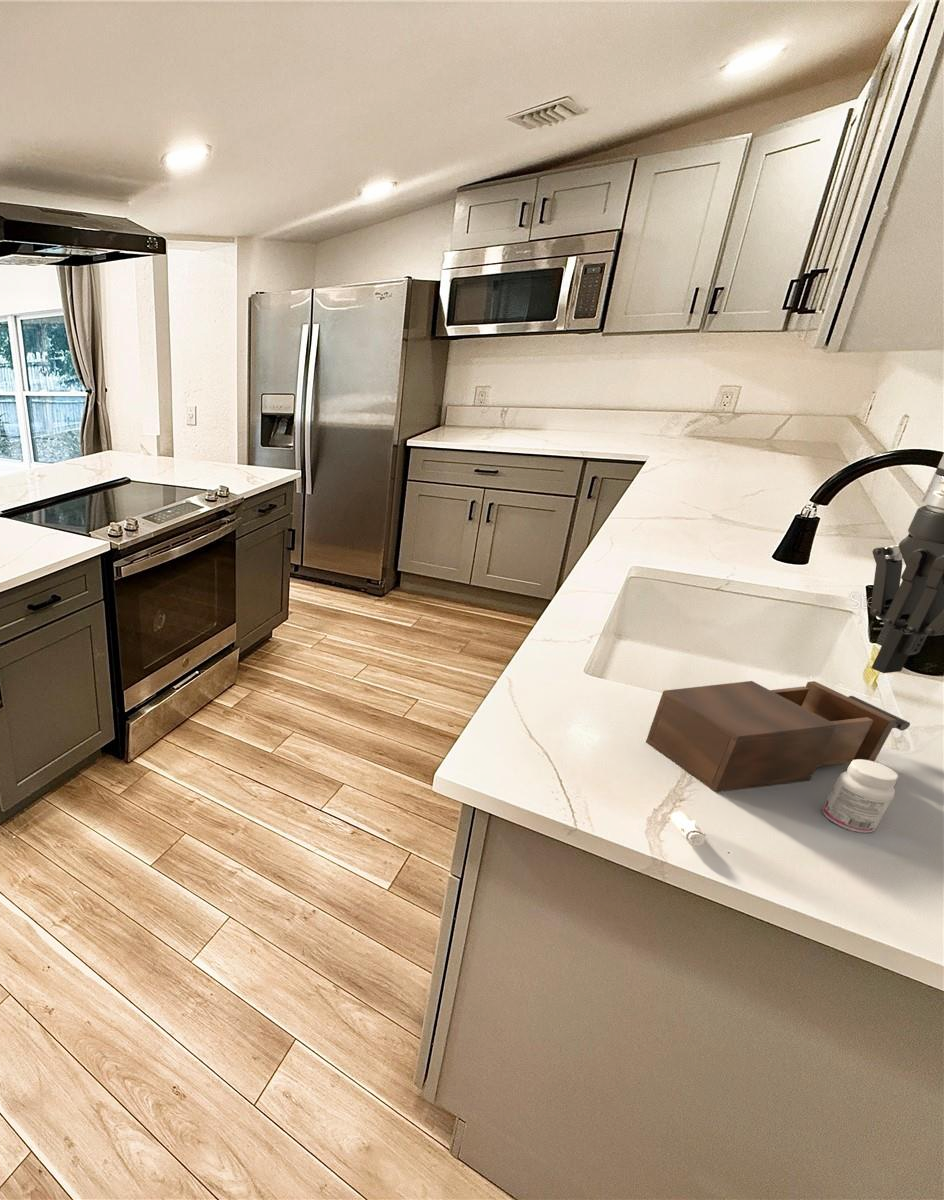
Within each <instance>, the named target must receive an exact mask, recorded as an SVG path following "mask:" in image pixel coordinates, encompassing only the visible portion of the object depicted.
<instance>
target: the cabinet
mask: <svg viewBox="0 0 944 1200" xmlns="http://www.w3.org/2000/svg"><path fill="white" fill-rule="evenodd" d="M770 690H771V689H768V688H767V687H765V686H763V685H761V684H759V683H757V682H755V681H753V680H748V681H739V682H728V683H720V684H712V685H702V686H701V685H700V686H692V687H684V688H675V689H673V688H672V689H666V690H665V689H664V690H662V693H661V696H660V699H659V702H658V705H657V708H656V711H655V714H654V716H653V719H652V723H651V725H650V728H649V731H648V733H647V738H646V739H645V742H646V744H648V745H649V746H651V747H652V748H654V749H655V750H656V751H658V752H659V753H661V754H662V755H663V756H665V757H666V758H667V759H669V760H670V761H672V762H673V763H674V764H676V765H677V766H679V767H680V768H682V769H683V770H684V771H686V772H687V773H688V774H690V775H691V776H693V777H694V778H695V779H696V780H698V781H699V782H701V783H702V784H703V785H705V786H706V787H708V788H709V789H710V790H712V791H713V792H714V793H720V792H725V791H734V790H744V789H751V788H760V787H768V786H776V785H784V784H791V783H792V784H793V783H799V782H808V781H811V780H812V778H813V775H814V774H815V771H816V769H817V768H818V766H817V765H818V763H819V761H820V759H821V757H822V755H823V753H824V751H825V749H826V747H827V745H828V743H829V741H830V739H831V737H832V735H833V733H834V731H835V729H836V727H837V725H836V724H834V723H832V722H830V721H828V720H826V719H825V718H823V717H821V716H819V715H817V714H815V713H813V712H811V711H809V710H807V709H805V708H803V707H801V706H799V705H797V704H796V703H794V702H792V701H790V700H788V699H786V698H784V697H782V696H780V695H778V694H776V693H774V692H772V691H770Z"/></svg>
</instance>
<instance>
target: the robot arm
mask: <svg viewBox="0 0 944 1200" xmlns="http://www.w3.org/2000/svg"><path fill="white" fill-rule="evenodd" d="M921 502H922V503H923V504H924V505H922V506H921V507H918V508H917V510H916V512H915V514H914V516H913V517H912V520H911V522H910V525H909V526H908V529H907V533H908V534H907V536H905V537H904V538H903V539H902V540H900V542H899V543H898V544H896V545H891V546H890V545H889V546H881V547H875V548H873V550H872V555H873V559H874V562H875V571H874V579H873V587H872V593H871V602H870V610H869V613H870V615H871V616H872V617H877V618H878V619H880V620H881V621H882V622H883V627H882V628H881V630H880V633H879V635H878V637H877V638H876V644H877V645H879V646H881V647H880V649H879V651H878V653H877V655H876V657H875V659H874V661H873V662H872V665H871V669H872V670H875V671H877V672H879V673H882V674H890V673H897V672H899V673H900V672H902V670H903V668H904V666H905V665H906V662H907V660H908V658H909V657H910V656H913V655H917V654H918V653H920V652H921V649H922V647H923V645H924V643H925V641H926V639H927V637H928V636H929V637H935V636H943V635H944V453H943V454H942V456H941V459H940V461H939V463H938V465H937V468H936V470H935V471H934V474H933V475H932V478H931V480H930V482H929V484H928V486H927V489H926V491H925V493H924V495H923V497H922V499H921ZM903 561H904V562H903ZM903 563H904V565H905V567H904V570H903ZM901 580H902V581H901Z"/></svg>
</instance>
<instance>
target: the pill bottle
mask: <svg viewBox="0 0 944 1200" xmlns="http://www.w3.org/2000/svg"><path fill="white" fill-rule="evenodd" d="M898 779H899V775H898V773H897V772H896V771H895V770H894V769H892V768H891V767H888V766H887V765H884V764H882V763H879V762H877V761H874V762H873V761H869V760H862V759H857V760H854V759H853V761H852V762H849V765H848V767H847V769H846V771H843V772H841V773H840V774H839V776H838V778H837V779H836V782H835V783H834V786H833V788H832V789H831V792H830V793H829V795H828V798H827V799H826V801H825V804H824V805H823V807H822V813H823V815H824V817H826V818H827V819H828V820H829V821H830V822H832V823H833V824H835V825H837V826H839V827H841V828H843V829H846V830H849V831H852V832H857V833H864V834H866V833H867V834H868V833H872V832H874V831H875V830H876V829H877V827H878V825H879V823H880V821H881V819H882V817H883V816H884V814H885V812H886V811H887V809H888V807H889V805H890V803H891V802H892V800H893V799H894V796H895V795H896V792H895V789H894V787H895V786H896V783H897V781H898Z"/></svg>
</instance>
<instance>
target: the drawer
mask: <svg viewBox="0 0 944 1200" xmlns="http://www.w3.org/2000/svg"><path fill="white" fill-rule="evenodd" d="M769 690H770V691H772V692H774V693H776V694H778V695H780V696H782V697H784V698H786V699H788V700H790V701H792V702H794V703H796V704H797V705H799V706H801V707H803V708H805V709H807V710H809V711H811V712H813V713H815V714H817V715H819V716H821V717H823V718H825V719H826V720H828V721H830V722H832V723H834V724H836V725H837V727H836V729H835V731H834V733H833V735H832V737H831V739H830V741H829V743H828V745H827V747H826V749H825V751H824V753H823V755H822V757H821V759H820V761H819V763H818V765H817V767H821V766H830V765H839V764H846V763H847V764H848V763H851V762H852V761H853V760H857V759H862V760H869V761H873V762H876V760H877V758H878V755H879V754H880V752H881V750H882V748H883V746H884V745H885V743H886V741H887V739H888V737H889V735H890V734H891V732H892V730H893V729H897V730H898V731H901V732H902V731H906V730H907V729H908V728H910V725H911V723H910V722H909V721H908V720H905V719H903V718H902V717H900V716H897V715H895V714H892V713H890V712H888V711H886V710H884V709H881V708H879V707H878V706H876V705H873V704H871V703H869V702H868V701H867V702H866V701H865V700H863V699H861V698H859V697H856V696H854V695H848V696H847V695H845V694H843V693H841V692H839V691H837V690H835V689H832V688H830V687H828V686H826V685H825V684H821V683H819V682H817V681H816V680H813V681H812V680H811V681H807V682H806V684H805V686H795V687H786V688H776V689H769Z"/></svg>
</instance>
